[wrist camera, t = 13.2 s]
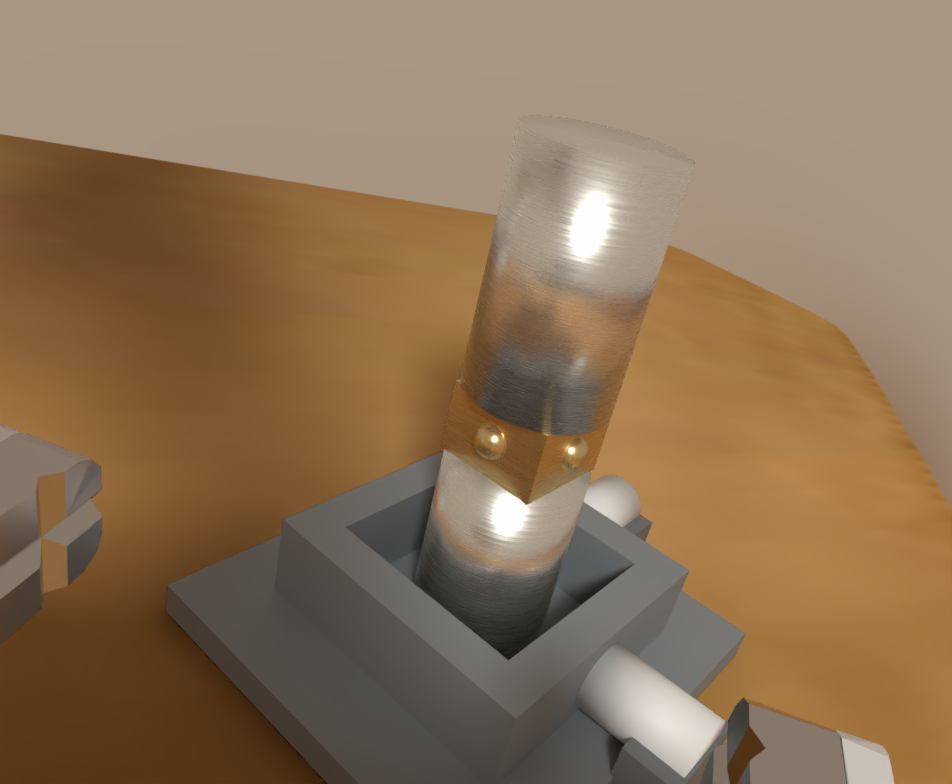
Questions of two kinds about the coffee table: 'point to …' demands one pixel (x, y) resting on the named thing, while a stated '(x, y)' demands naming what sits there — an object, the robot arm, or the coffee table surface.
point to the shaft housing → (463, 650)
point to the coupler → (544, 366)
